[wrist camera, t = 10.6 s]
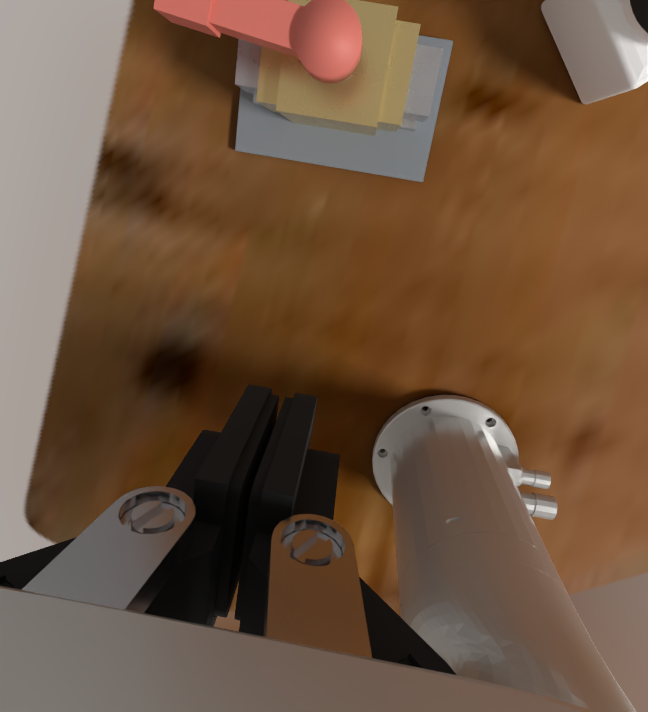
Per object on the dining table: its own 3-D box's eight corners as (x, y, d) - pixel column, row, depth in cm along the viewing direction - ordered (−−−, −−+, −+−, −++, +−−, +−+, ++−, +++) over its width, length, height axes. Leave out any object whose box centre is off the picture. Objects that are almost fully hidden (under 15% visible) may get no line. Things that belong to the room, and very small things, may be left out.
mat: (451, 43, 34) (453, 40, 33) (422, 181, 37) (422, 182, 36) (249, 10, 34) (247, 7, 33) (237, 150, 37) (235, 150, 37)
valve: (436, 47, 33) (462, -2, 24) (416, 143, 35) (433, 132, 26) (261, 18, 34) (221, -40, 24) (251, 115, 36) (211, 95, 27)
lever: (351, 91, 26) (349, 84, 24) (169, 33, 25) (151, 21, 23) (370, 22, 25) (371, 8, 22) (180, -40, 24) (163, -60, 22)
